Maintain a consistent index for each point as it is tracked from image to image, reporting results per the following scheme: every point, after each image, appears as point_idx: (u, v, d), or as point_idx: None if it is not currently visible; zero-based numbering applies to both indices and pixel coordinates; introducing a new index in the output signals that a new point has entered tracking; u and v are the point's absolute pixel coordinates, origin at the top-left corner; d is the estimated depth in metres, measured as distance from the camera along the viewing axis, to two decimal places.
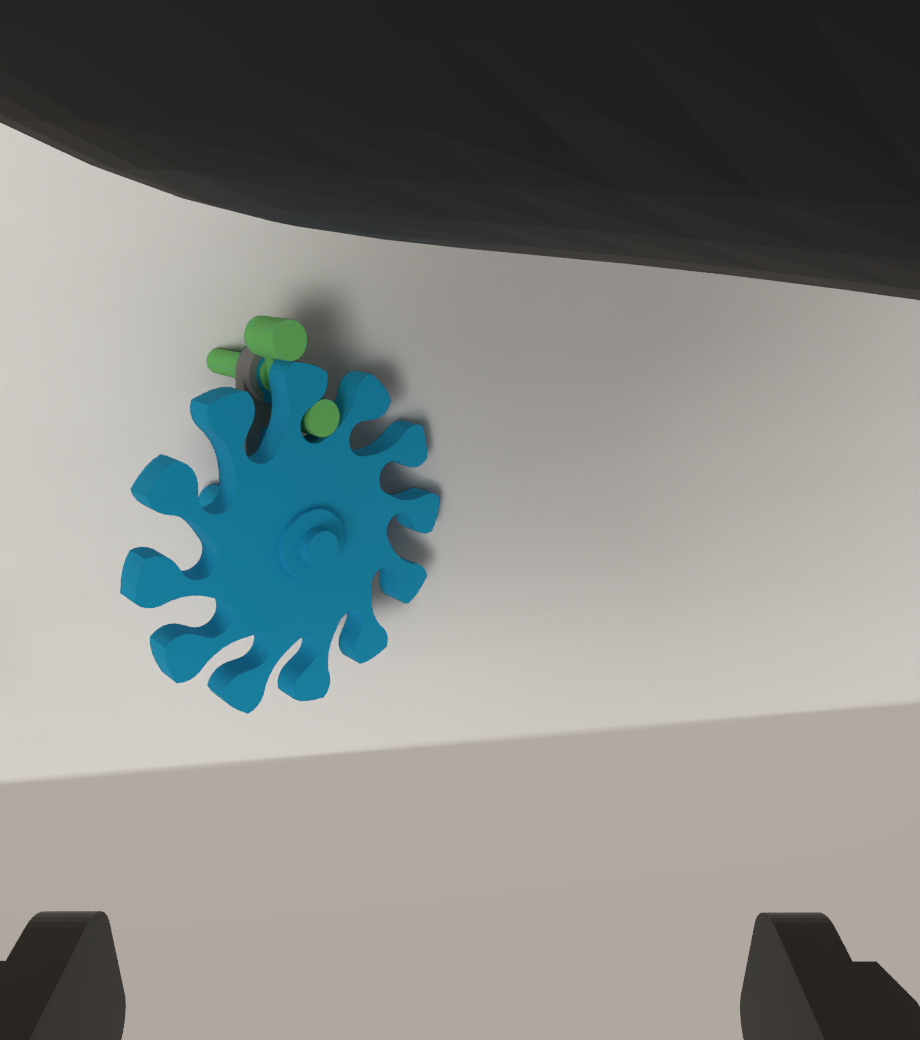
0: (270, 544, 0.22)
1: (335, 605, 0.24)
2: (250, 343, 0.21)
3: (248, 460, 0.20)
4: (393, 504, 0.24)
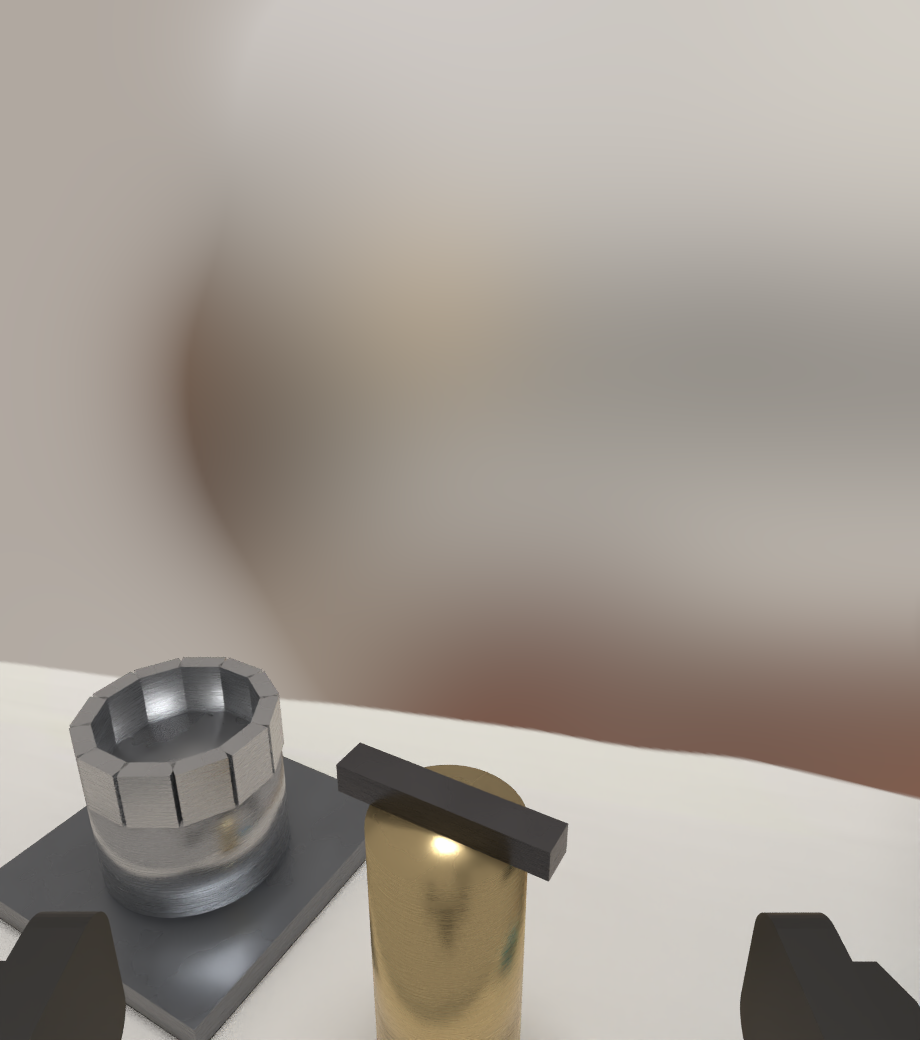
0: None
1: None
2: None
3: None
4: None
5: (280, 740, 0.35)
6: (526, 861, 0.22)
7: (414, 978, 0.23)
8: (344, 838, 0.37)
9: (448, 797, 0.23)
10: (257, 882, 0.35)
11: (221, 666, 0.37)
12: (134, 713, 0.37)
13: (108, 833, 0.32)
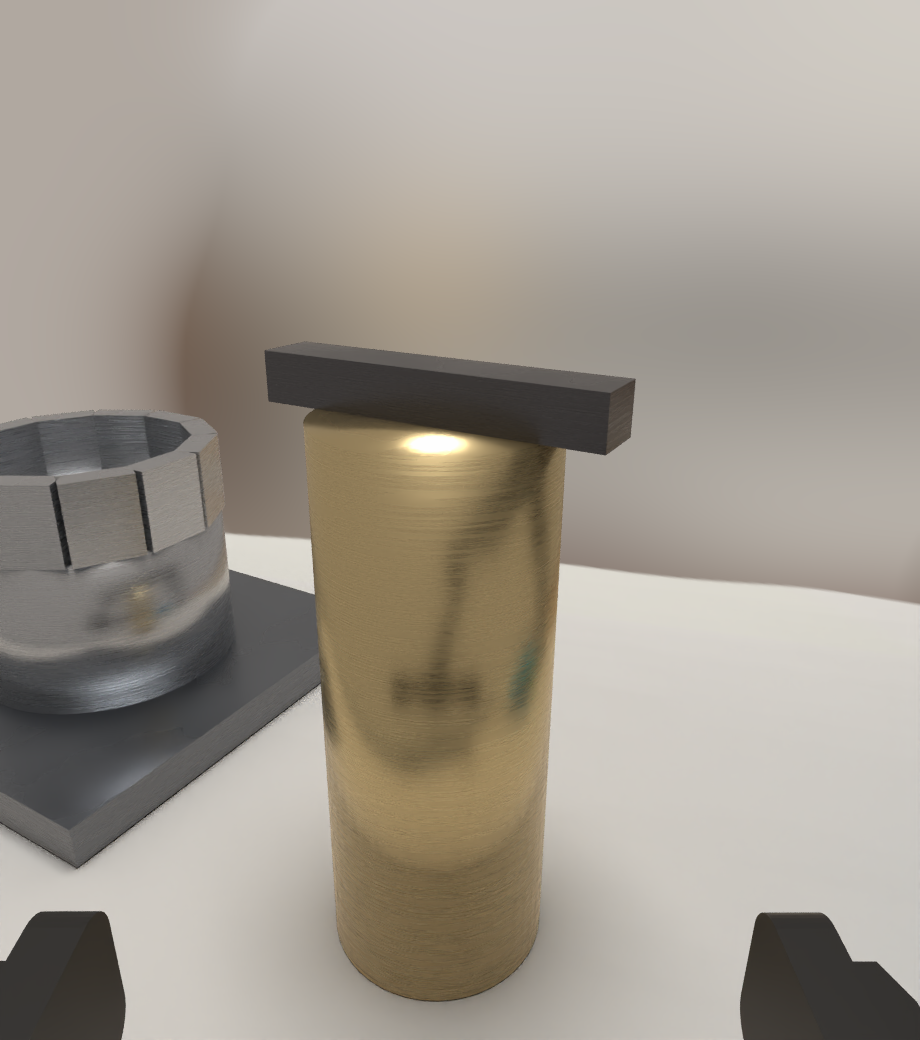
0: None
1: None
2: None
3: None
4: None
5: (218, 495, 0.27)
6: (568, 426, 0.13)
7: (381, 656, 0.14)
8: (305, 642, 0.28)
9: (439, 365, 0.14)
10: (183, 679, 0.26)
11: (147, 416, 0.29)
12: (29, 469, 0.28)
13: None
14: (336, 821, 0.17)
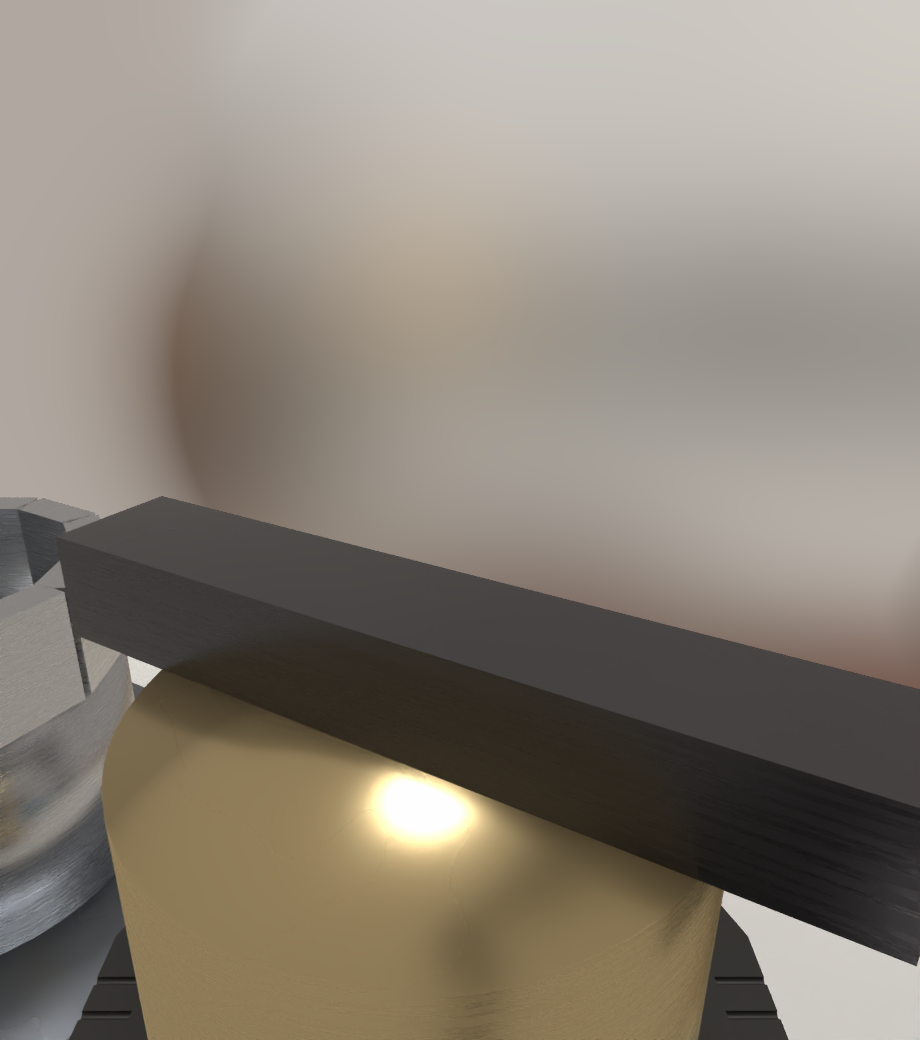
0: None
1: None
2: None
3: None
4: None
5: None
6: (797, 866, 0.05)
7: None
8: None
9: (432, 615, 0.06)
10: (58, 914, 0.17)
11: (22, 509, 0.20)
12: None
13: None
14: None
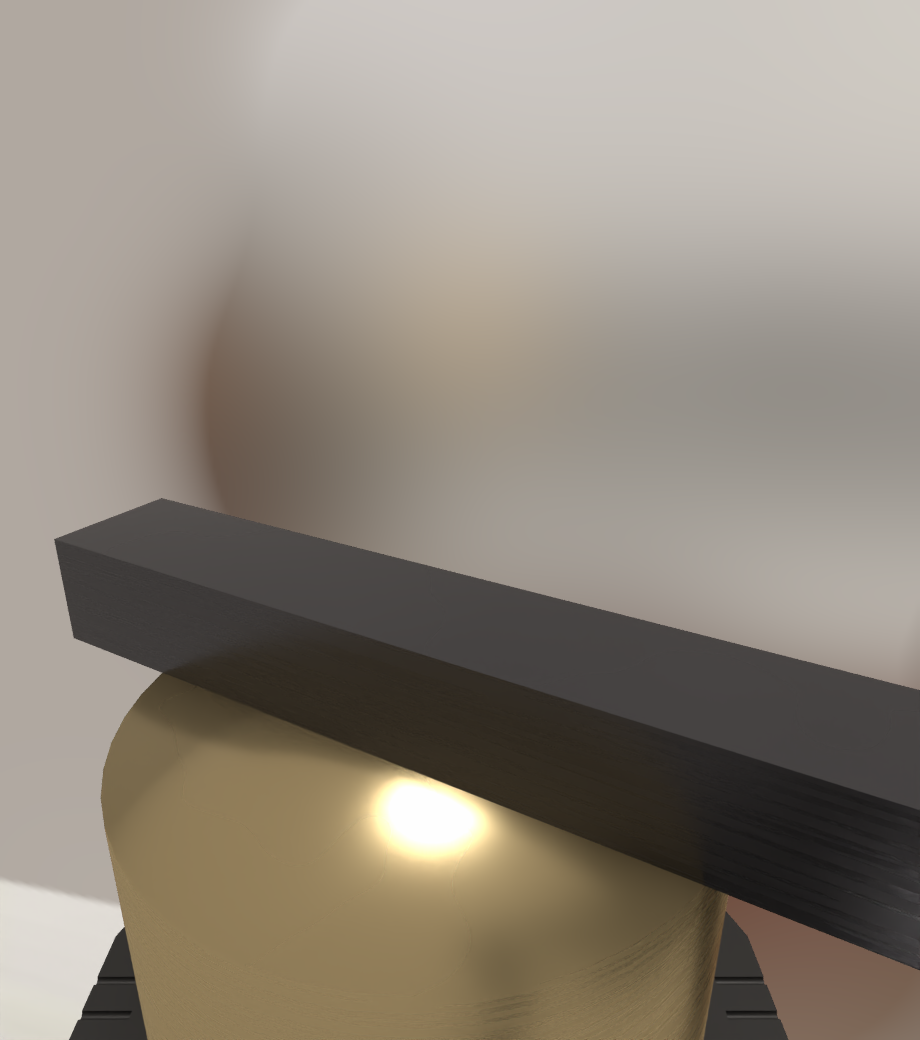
0: None
1: None
2: None
3: None
4: None
5: None
6: (804, 871, 0.05)
7: None
8: None
9: (433, 617, 0.06)
10: None
11: None
12: None
13: None
14: None
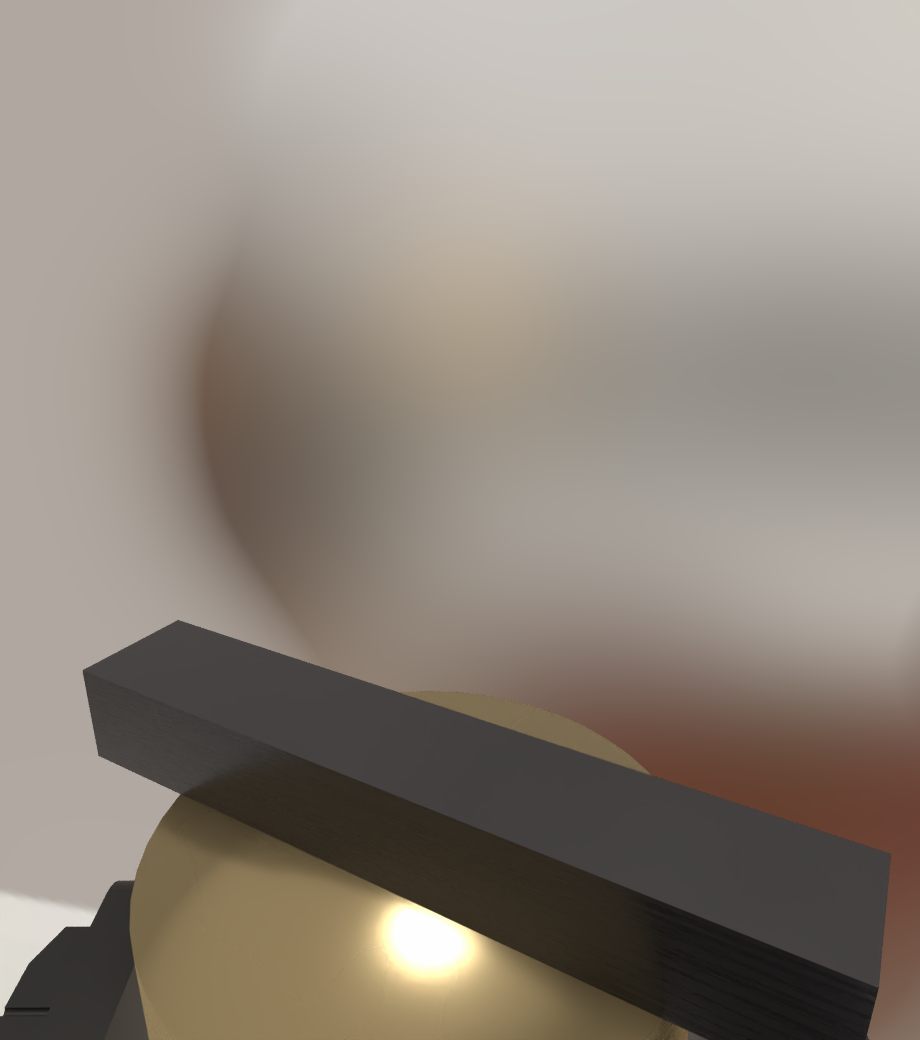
0: None
1: None
2: None
3: None
4: None
5: None
6: (745, 1013, 0.05)
7: None
8: None
9: (425, 761, 0.07)
10: None
11: None
12: None
13: None
14: None
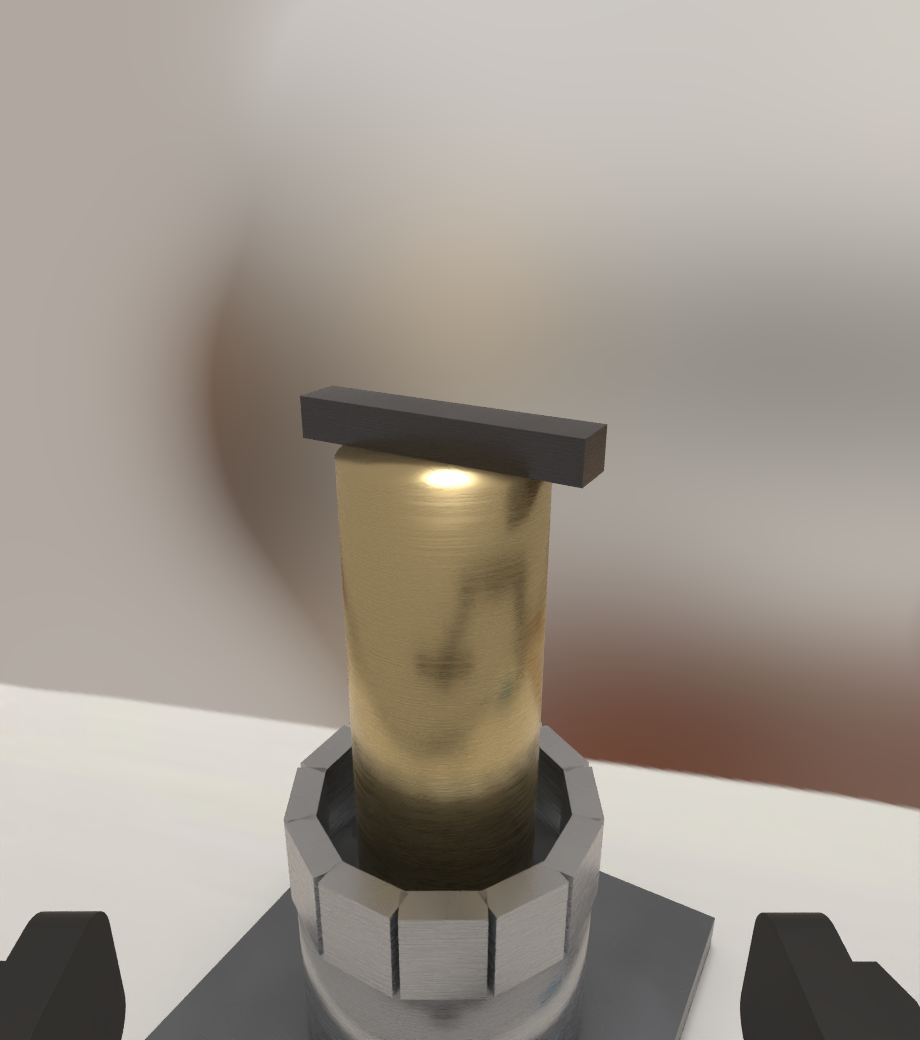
0: None
1: None
2: None
3: None
4: None
5: None
6: (552, 464, 0.16)
7: (400, 650, 0.17)
8: (663, 978, 0.25)
9: (446, 411, 0.17)
10: None
11: None
12: (353, 789, 0.24)
13: (358, 1002, 0.20)
14: (361, 790, 0.20)
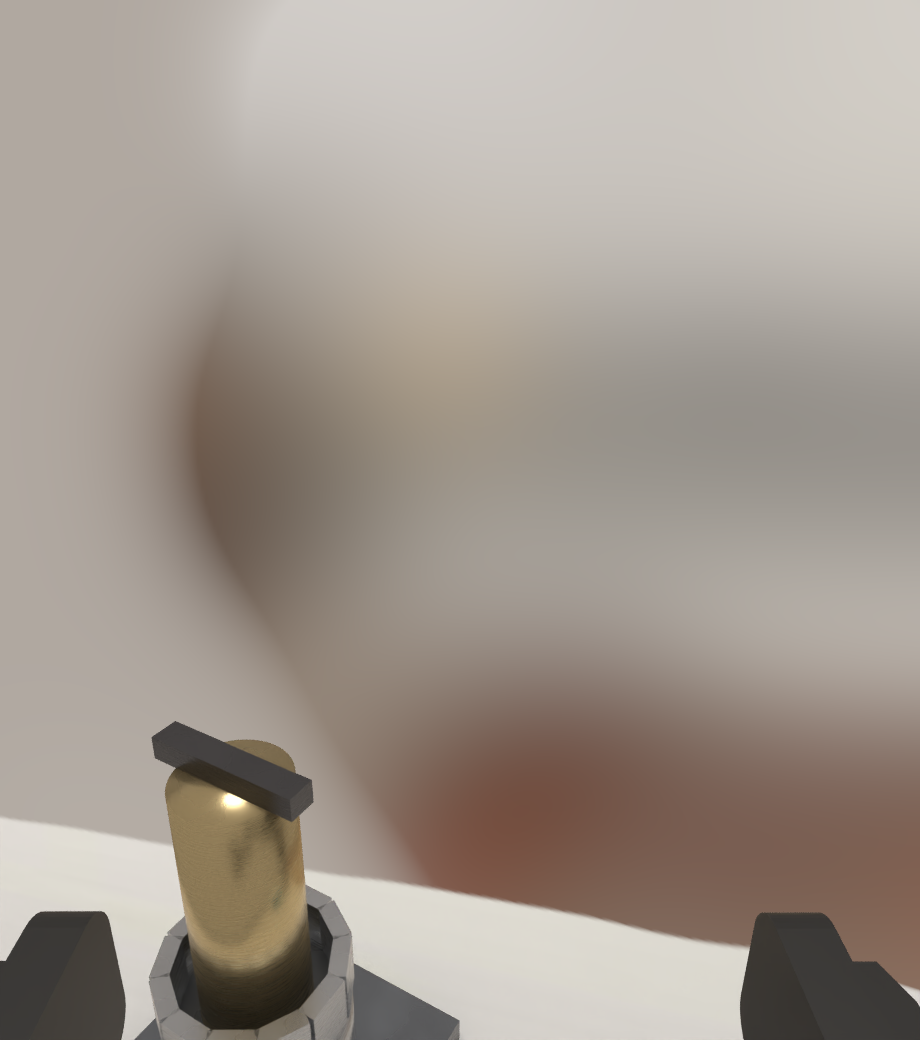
0: None
1: None
2: None
3: None
4: None
5: (352, 978, 0.36)
6: (276, 807, 0.29)
7: (201, 899, 0.30)
8: None
9: (228, 761, 0.30)
10: None
11: None
12: None
13: None
14: (193, 962, 0.33)
